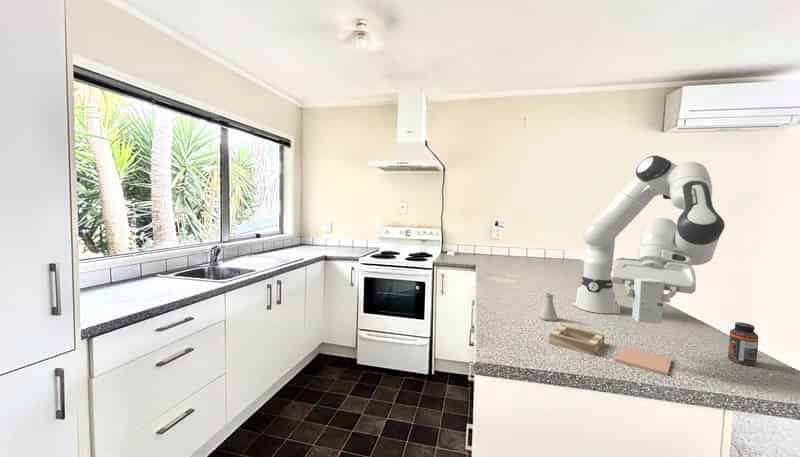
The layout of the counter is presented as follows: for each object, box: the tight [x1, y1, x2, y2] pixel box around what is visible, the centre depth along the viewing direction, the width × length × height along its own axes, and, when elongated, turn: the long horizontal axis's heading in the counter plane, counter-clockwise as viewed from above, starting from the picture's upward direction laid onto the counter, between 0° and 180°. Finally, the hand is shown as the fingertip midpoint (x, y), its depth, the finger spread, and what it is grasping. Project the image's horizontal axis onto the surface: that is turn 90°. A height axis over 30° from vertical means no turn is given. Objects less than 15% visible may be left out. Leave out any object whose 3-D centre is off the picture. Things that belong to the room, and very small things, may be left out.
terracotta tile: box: [614, 346, 673, 377], centre depth 99 cm, size 13×12×1 cm
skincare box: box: [631, 278, 665, 325], centre depth 98 cm, size 6×4×12 cm
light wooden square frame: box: [548, 324, 605, 356], centre depth 111 cm, size 13×13×3 cm
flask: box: [538, 293, 559, 322], centre depth 136 cm, size 7×7×10 cm
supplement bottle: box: [727, 321, 759, 367], centre depth 99 cm, size 6×6×11 cm
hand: (647, 298), depth 97 cm, fingers closed on skincare box, 7 cm apart
